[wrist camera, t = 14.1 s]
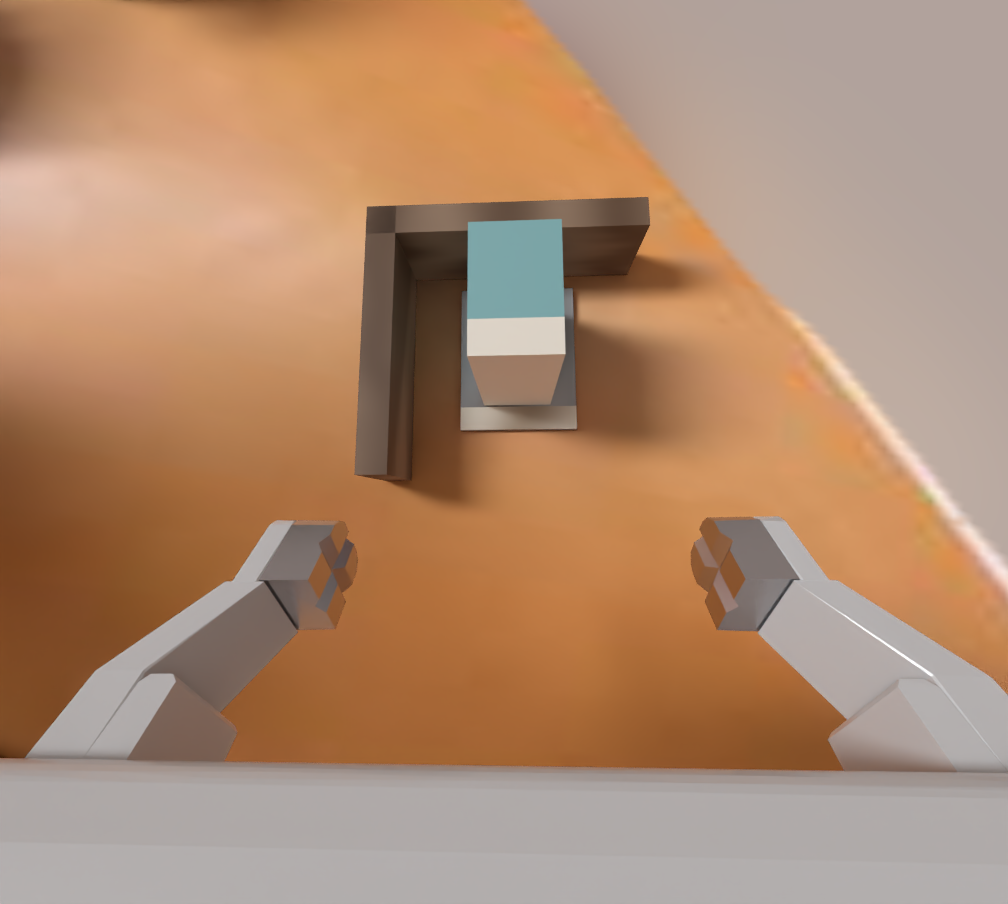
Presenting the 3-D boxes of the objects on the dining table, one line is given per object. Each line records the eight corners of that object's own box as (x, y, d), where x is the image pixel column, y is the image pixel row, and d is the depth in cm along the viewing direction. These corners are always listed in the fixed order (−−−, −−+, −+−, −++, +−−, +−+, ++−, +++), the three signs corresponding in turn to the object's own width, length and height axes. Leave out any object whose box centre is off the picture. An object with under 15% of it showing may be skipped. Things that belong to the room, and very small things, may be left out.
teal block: (484, 405, 24) (466, 356, 16) (484, 312, 25) (468, 221, 17) (550, 404, 24) (565, 353, 16) (547, 311, 25) (561, 218, 17)
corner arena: (385, 480, 24) (354, 474, 19) (393, 258, 26) (367, 206, 21) (637, 478, 23) (665, 472, 19) (625, 251, 25) (648, 197, 21)
